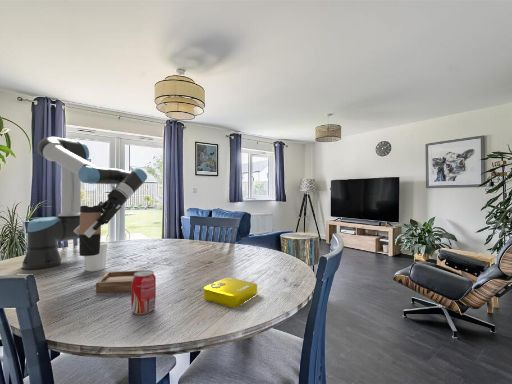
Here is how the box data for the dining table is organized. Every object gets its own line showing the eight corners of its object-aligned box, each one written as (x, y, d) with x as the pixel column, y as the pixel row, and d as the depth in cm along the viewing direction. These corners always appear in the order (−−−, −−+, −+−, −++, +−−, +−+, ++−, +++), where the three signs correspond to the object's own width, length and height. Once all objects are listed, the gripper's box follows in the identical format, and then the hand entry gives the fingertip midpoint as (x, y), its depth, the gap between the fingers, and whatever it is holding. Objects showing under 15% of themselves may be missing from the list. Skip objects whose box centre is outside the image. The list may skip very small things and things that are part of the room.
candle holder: (78, 270, 127) (78, 244, 127) (97, 265, 136) (97, 241, 136) (92, 272, 123) (93, 246, 123) (111, 267, 132) (112, 242, 132)
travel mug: (90, 256, 108) (91, 207, 108) (74, 255, 110) (75, 206, 109) (104, 252, 116) (105, 206, 115) (89, 251, 117) (90, 205, 117)
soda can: (135, 306, 88) (136, 269, 88) (157, 306, 89) (158, 269, 89) (127, 316, 81) (127, 276, 81) (151, 315, 82) (152, 276, 82)
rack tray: (107, 281, 112) (107, 271, 112) (143, 279, 115) (143, 270, 115) (95, 294, 98) (96, 283, 98) (137, 291, 101) (137, 280, 101)
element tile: (235, 310, 88) (235, 295, 88) (201, 299, 96) (201, 286, 96) (259, 295, 100) (259, 282, 100) (227, 287, 108) (227, 275, 108)
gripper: (139, 201, 120) (101, 243, 106) (112, 199, 131) (75, 237, 117) (128, 189, 116) (87, 231, 102) (102, 188, 126) (62, 226, 113)
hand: (81, 234), depth 110 cm, fingers closed on travel mug, 7 cm apart
